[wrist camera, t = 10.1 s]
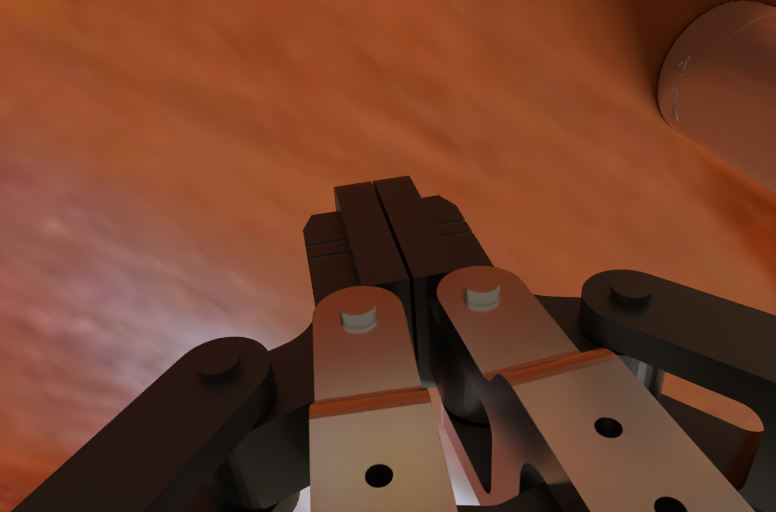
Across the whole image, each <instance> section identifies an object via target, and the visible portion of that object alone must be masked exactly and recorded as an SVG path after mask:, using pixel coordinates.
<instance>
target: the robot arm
mask: <svg viewBox="0 0 776 512" xmlns="http://www.w3.org/2000/svg"><path fill="white" fill-rule="evenodd" d="M657 96H658V102H659V108H660V111H661V113H662V115H663V118H664V119H665V120H666V122H667V123H668V124H669V125H670V127H672V128H673V129H675V130H676V131H678V132H679V133H681V134H682V135H684V136H685V137H687V138H689V139H690V140H692V141H693V142H695V143H697V144H698V145H700V146H701V147H703V148H704V149H706V150H707V151H709V152H710V153H712V154H714V155H715V156H717V157H718V158H720V159H722V160H723V161H725V162H727V163H728V164H730V165H731V166H733V167H735V168H736V169H738V170H739V171H741V172H743V173H744V174H746V175H747V176H749V177H751V178H752V179H754V180H756V181H757V182H759V183H760V184H762V185H764V186H765V187H767V188H768V189H770V190H772V191H773V192H775V193H776V7H772V6H769V5H765V4H761V3H758V2H752V1H745V0H743V1H734V2H728V3H726V4H723V5H720V6H717V7H715V8H713V9H711V10H709V11H708V12H706V13H704V14H702V15H701V16H700V17H699V18H697V19H696V20H695V21H694V22H692V23H691V24H690V25H689V26H688V27H687V28H686V29H685V30H684V31H683V33H682V34H681V35H680V36H679V37H678V38H677V40H676V41H675V43H674V44H673V46H672V47H671V49H670V51H669V52H668V54H667V57H666V59H665V61H664V63H663V66H662V69H661V72H660V76H659V80H658V93H657ZM334 196H335V204H336V212H329V213H323V214H316V215H311V217H310V219H309V221H308V222H307V224H306V226H305V227H304V229H303V233H304V239H305V245H306V252H307V258H308V264H309V270H310V276H311V283H312V289H313V295H314V301H315V310H314V312H313V321H312V323H311V324H310V325H309V327H308V328H307V329H306V330H305V331H304V332H303V333H302V334H301V335H299V336H298V337H297V338H295V339H293V340H292V341H290V342H288V343H286V344H284V345H282V346H279V347H277V348H275V349H272V350H270V351H267V349H266V348H265V347H264V346H263V345H262V344H260V343H259V342H257V341H255V340H253V339H249V338H245V337H224V338H219V339H215V340H211V341H208V342H205V343H203V344H201V345H199V346H197V347H195V348H193V349H192V350H190V351H189V352H187V353H186V354H185V355H184V356H182V357H181V358H180V359H179V360H178V361H177V362H176V363H175V364H174V365H172V366H171V367H170V368H169V369H168V370H167V371H166V372H165V373H164V374H162V375H161V376H160V377H159V378H158V379H157V380H156V381H155V382H154V383H153V384H151V385H150V386H149V387H148V388H147V389H146V390H145V391H144V392H143V393H141V394H140V395H139V396H138V397H137V398H136V399H135V400H134V401H133V402H132V403H130V404H129V405H128V406H127V407H126V408H125V409H124V410H123V411H122V412H120V413H119V414H118V415H117V416H116V417H115V418H114V419H113V420H112V421H111V422H109V423H108V424H107V425H106V426H105V427H104V428H103V429H102V430H101V431H99V432H98V433H97V434H96V435H95V436H94V437H93V438H92V439H91V440H90V441H88V442H87V443H86V444H85V445H84V446H83V447H82V448H81V449H80V450H78V451H77V452H76V453H75V454H74V455H73V456H72V457H71V458H70V459H69V460H67V461H66V462H65V463H64V464H63V465H62V466H61V467H60V468H59V469H57V470H56V471H55V472H54V473H53V474H52V475H51V476H50V477H49V478H48V479H46V480H45V481H44V482H43V483H42V484H41V485H40V486H39V487H38V488H36V489H35V490H34V491H33V492H32V493H31V494H30V495H29V496H28V497H27V498H25V499H24V500H23V501H22V502H21V503H20V504H19V505H18V506H17V507H15V508H14V509H13V510H12V511H11V512H293V510H294V509H295V507H296V505H297V502H298V500H299V495H300V490H302V489H304V488H306V487H308V486H310V503H311V512H776V316H775V315H772V314H769V313H766V312H763V311H760V310H757V309H754V308H751V307H748V306H745V305H742V304H739V303H736V302H733V301H730V300H727V299H724V298H720V297H717V296H714V295H711V294H708V293H705V292H702V291H699V290H696V289H693V288H690V287H687V286H684V285H681V284H678V283H675V282H672V281H668V280H665V279H662V278H659V277H656V276H653V275H650V274H647V273H643V272H639V271H633V270H609V271H604V272H601V273H598V274H595V275H593V276H592V277H590V278H589V279H588V280H587V281H586V282H585V283H584V285H583V287H582V294H581V298H579V297H551V296H540V295H534V294H532V292H531V291H530V290H529V289H528V288H527V286H526V285H525V284H524V283H523V281H522V280H521V279H520V278H519V277H517V276H516V275H514V274H513V273H511V272H509V271H506V270H504V269H500V268H496V267H494V266H493V264H492V263H491V261H490V259H489V258H488V256H487V255H486V253H485V251H484V250H483V248H482V247H481V245H480V243H479V242H478V240H477V238H476V237H475V235H474V234H473V233H472V230H471V229H470V227H469V226H468V224H467V222H465V219H464V218H463V216H462V214H461V213H460V211H459V209H458V208H457V206H456V205H454V204H453V203H451V202H449V201H447V200H446V199H444V198H442V197H441V196H439V195H437V196H431V197H424V198H421V197H420V195H419V193H418V191H417V189H416V187H415V185H414V183H413V182H412V180H411V178H410V176H402V177H396V178H389V179H382V180H376V181H373V182H372V184H371V182H363V183H357V184H350V185H343V186H337V187H334ZM665 372H668V373H670V374H673V375H675V376H677V377H680V378H682V379H685V380H687V381H690V382H692V383H694V384H697V385H699V386H702V387H704V388H707V389H709V390H711V391H714V392H716V393H719V394H721V395H724V396H726V397H728V398H731V399H733V400H736V401H738V402H740V403H743V404H745V405H746V406H748V407H749V408H751V409H752V410H753V411H754V412H755V413H756V414H757V415H758V416H759V418H760V419H761V421H762V423H763V426H764V431H761V432H753V431H748V430H745V429H742V428H740V427H737V426H735V425H733V424H730V423H728V422H726V421H723V420H721V419H719V418H717V417H714V416H712V415H710V414H707V413H705V412H703V411H700V410H698V409H696V408H693V407H691V406H689V405H686V404H684V403H682V402H680V401H677V400H675V399H673V398H670V397H668V396H666V395H663V394H661V390H662V386H663V381H664V377H665ZM435 386H437V388H438V391H439V394H440V397H441V417H442V422H443V425H444V428H445V430H446V432H447V434H448V436H449V438H450V441H451V443H452V445H453V447H454V449H455V451H456V454H457V456H458V458H459V460H460V462H461V464H462V467H463V469H464V471H465V473H466V475H467V477H468V480H469V482H470V484H471V486H472V488H473V490H474V493H475V495H476V497H477V499H478V501H479V503H480V506H472V505H456V501H455V497H454V493H453V489H452V485H451V481H450V476H449V472H448V468H447V464H446V460H445V456H444V452H443V447H442V443H441V439H440V435H439V431H438V427H437V423H436V418H435V414H434V410H433V406H432V402H431V398H430V395H429V392H428V389H427V388H430V387H435Z"/></svg>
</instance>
